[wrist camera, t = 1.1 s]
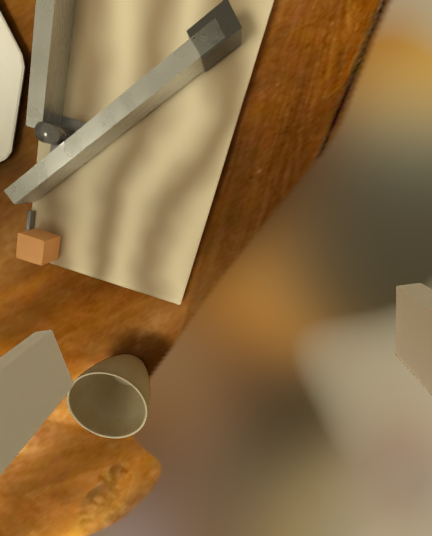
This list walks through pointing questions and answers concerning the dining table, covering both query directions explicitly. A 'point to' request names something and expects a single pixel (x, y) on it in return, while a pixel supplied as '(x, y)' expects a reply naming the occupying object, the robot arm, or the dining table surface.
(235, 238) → the dining table surface
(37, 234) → the orange cube
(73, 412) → the flower pot
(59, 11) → the tongs base
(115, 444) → the dining table surface
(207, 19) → the bar
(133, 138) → the board
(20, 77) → the plate
